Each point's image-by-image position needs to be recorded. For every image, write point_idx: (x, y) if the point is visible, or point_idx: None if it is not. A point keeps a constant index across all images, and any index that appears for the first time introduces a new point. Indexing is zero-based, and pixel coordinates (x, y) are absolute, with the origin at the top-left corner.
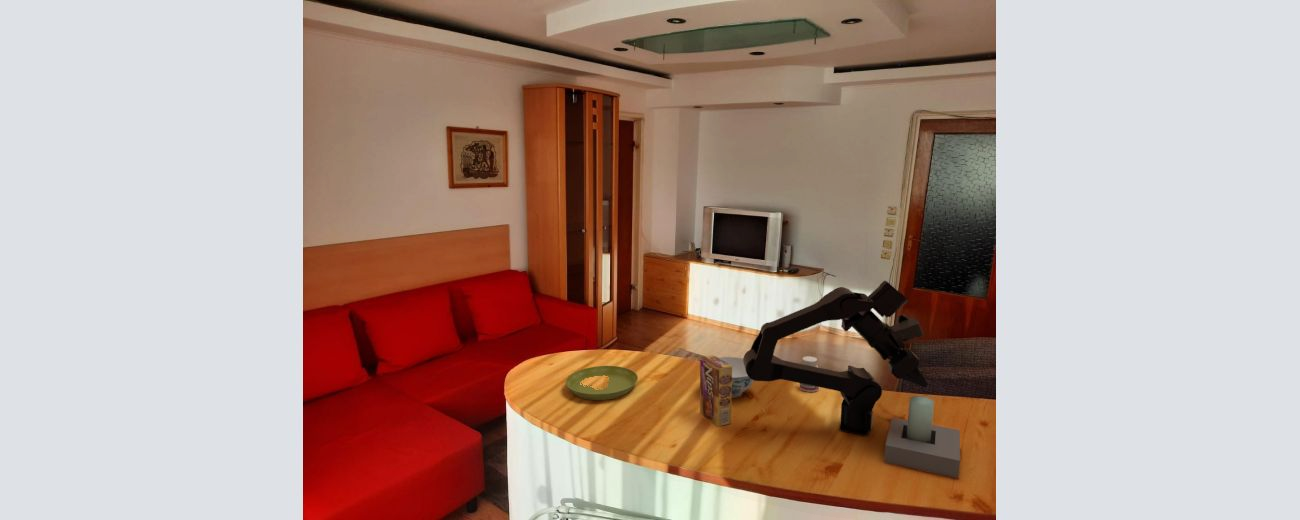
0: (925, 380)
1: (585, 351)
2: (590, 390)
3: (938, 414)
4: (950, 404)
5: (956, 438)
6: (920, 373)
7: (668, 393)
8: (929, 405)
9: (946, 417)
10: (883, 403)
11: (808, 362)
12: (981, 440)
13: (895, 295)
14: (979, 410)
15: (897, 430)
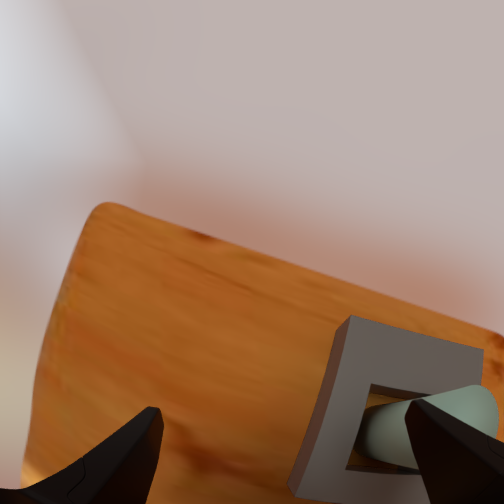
0: (446, 414)
1: None
2: None
3: (153, 318)
4: (104, 268)
5: (400, 336)
6: (495, 442)
7: None
8: (495, 401)
9: (171, 305)
10: (93, 440)
11: None
12: (292, 267)
13: None
14: (139, 220)
15: (382, 486)
